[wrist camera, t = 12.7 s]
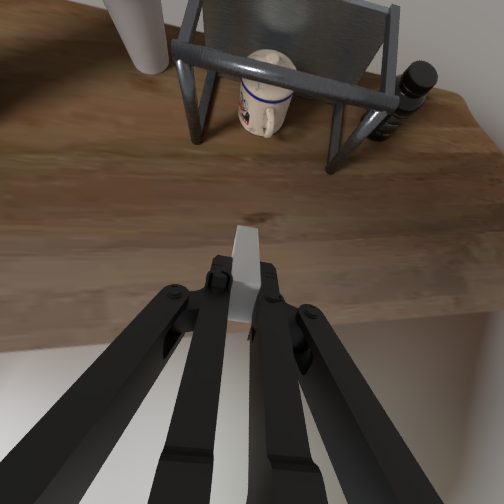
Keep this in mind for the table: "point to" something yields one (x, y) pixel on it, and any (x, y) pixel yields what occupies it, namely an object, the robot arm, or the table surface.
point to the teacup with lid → (264, 98)
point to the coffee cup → (141, 32)
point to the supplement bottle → (406, 98)
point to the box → (293, 56)
